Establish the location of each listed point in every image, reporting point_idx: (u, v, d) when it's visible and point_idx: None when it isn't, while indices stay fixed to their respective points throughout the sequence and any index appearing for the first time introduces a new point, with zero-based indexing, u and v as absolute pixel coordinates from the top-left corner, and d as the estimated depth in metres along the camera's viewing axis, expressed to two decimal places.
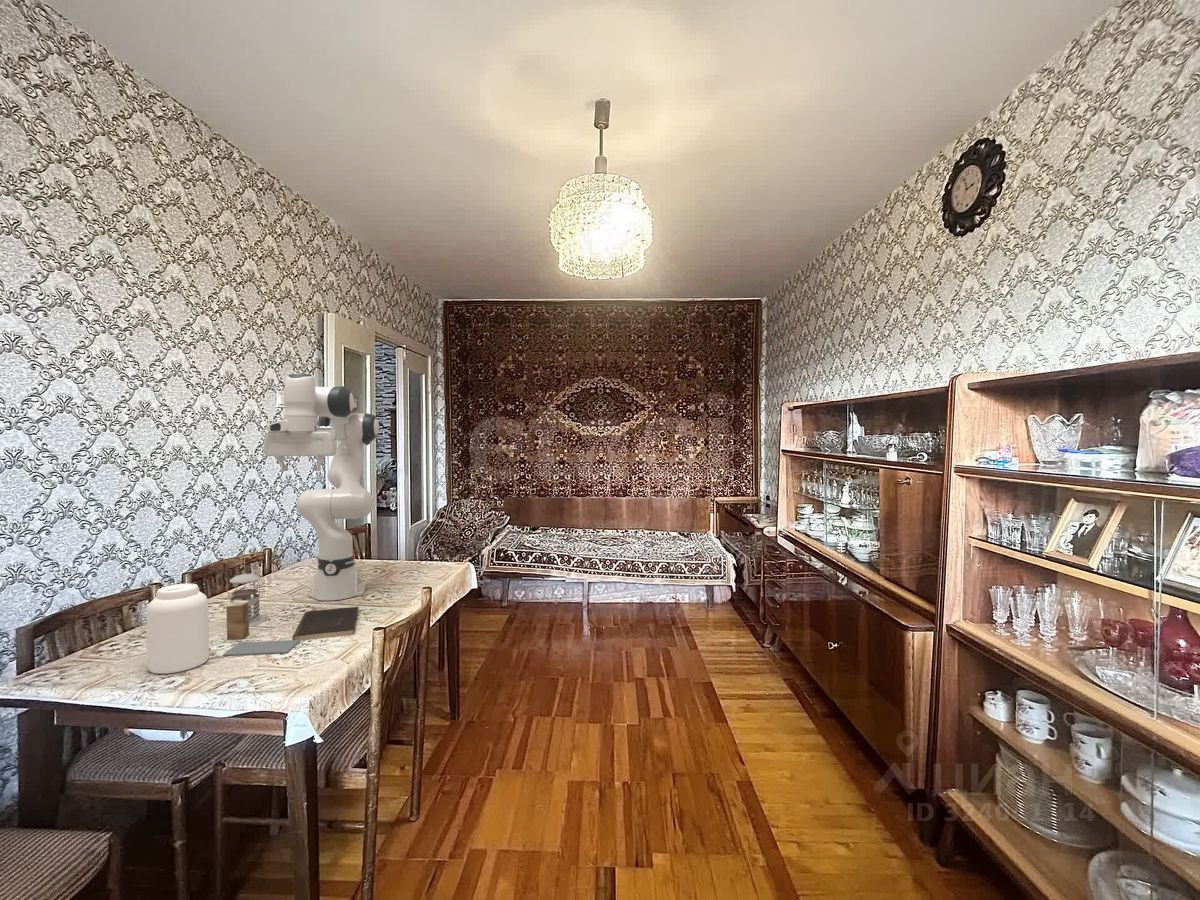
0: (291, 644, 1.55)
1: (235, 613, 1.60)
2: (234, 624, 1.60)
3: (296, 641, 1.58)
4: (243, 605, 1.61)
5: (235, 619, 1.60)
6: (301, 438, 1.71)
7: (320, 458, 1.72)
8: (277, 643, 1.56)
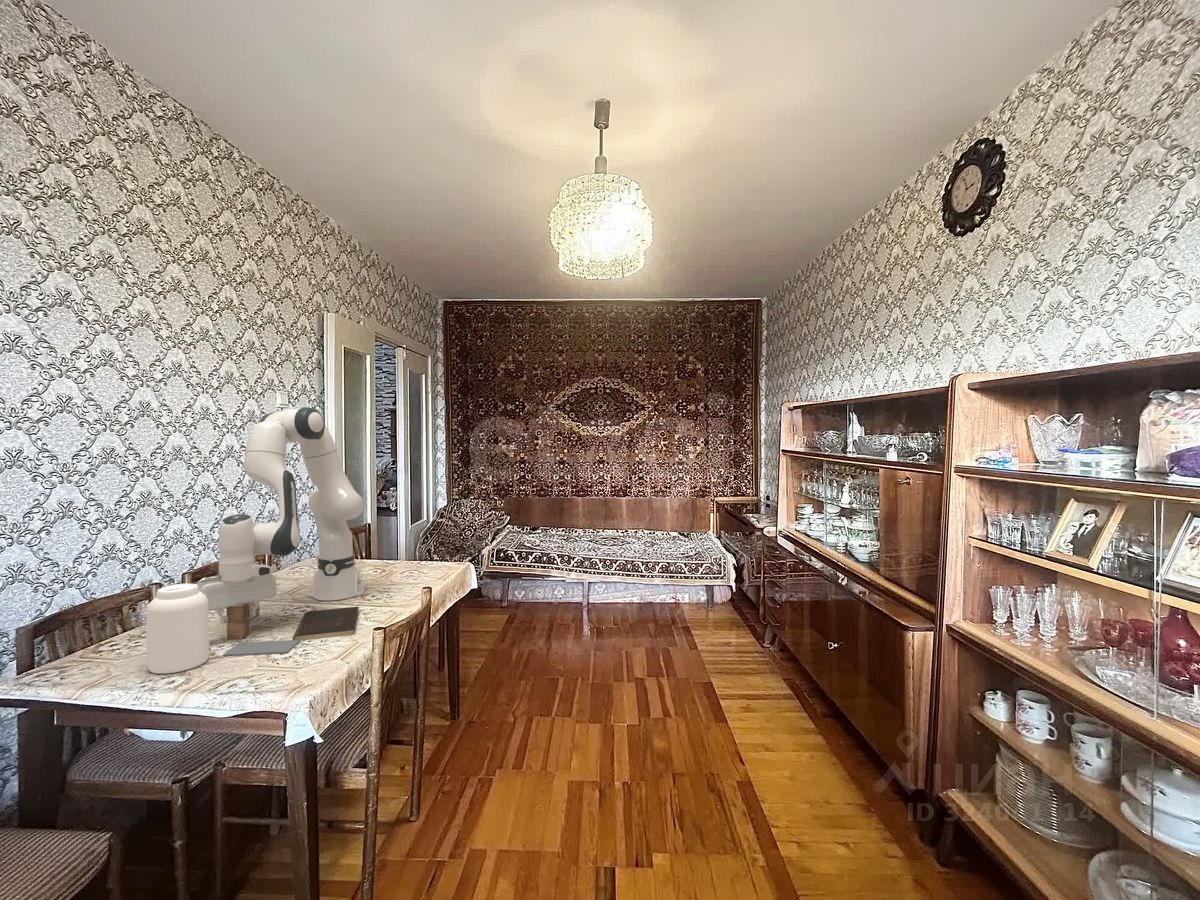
0: (291, 644, 1.55)
1: (235, 613, 1.60)
2: (234, 624, 1.60)
3: (296, 641, 1.58)
4: (243, 605, 1.61)
5: (235, 619, 1.60)
6: None
7: None
8: (277, 643, 1.56)
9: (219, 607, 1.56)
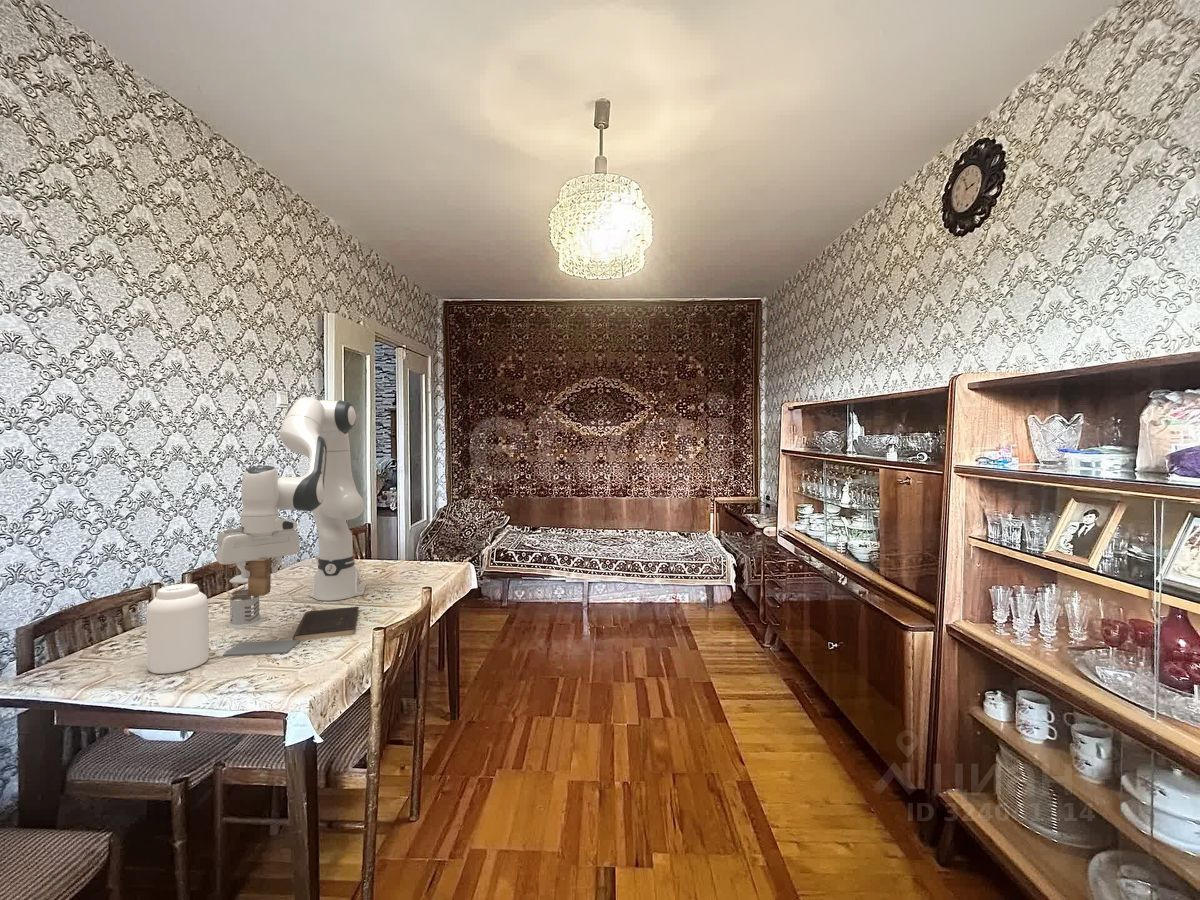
0: (291, 644, 1.55)
1: (257, 568, 1.52)
2: (256, 579, 1.52)
3: (296, 641, 1.58)
4: (265, 560, 1.53)
5: (257, 574, 1.52)
6: None
7: None
8: (277, 643, 1.56)
9: (241, 560, 1.49)
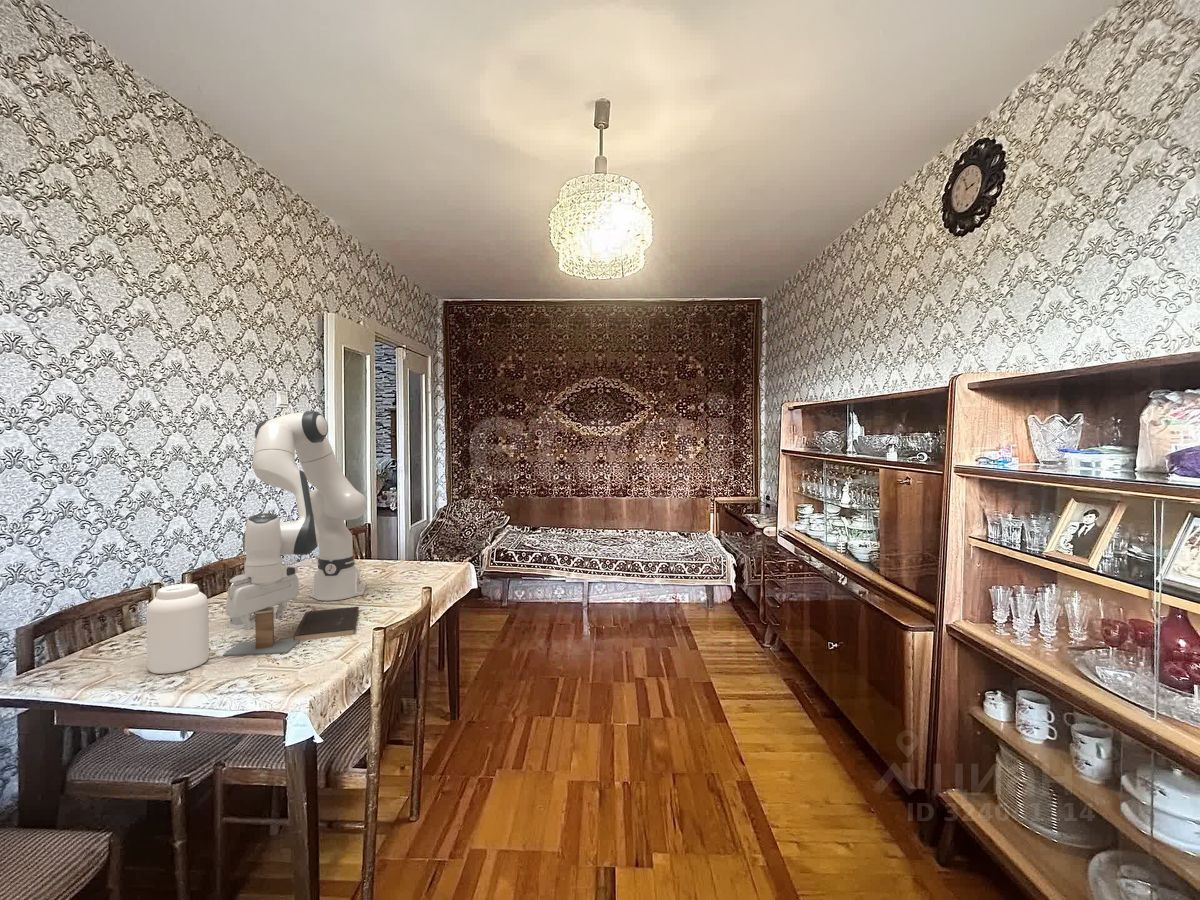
0: (291, 644, 1.55)
1: (265, 620, 1.53)
2: (264, 631, 1.53)
3: (296, 641, 1.58)
4: (272, 611, 1.54)
5: (265, 626, 1.53)
6: None
7: None
8: (277, 643, 1.56)
9: (252, 611, 1.49)
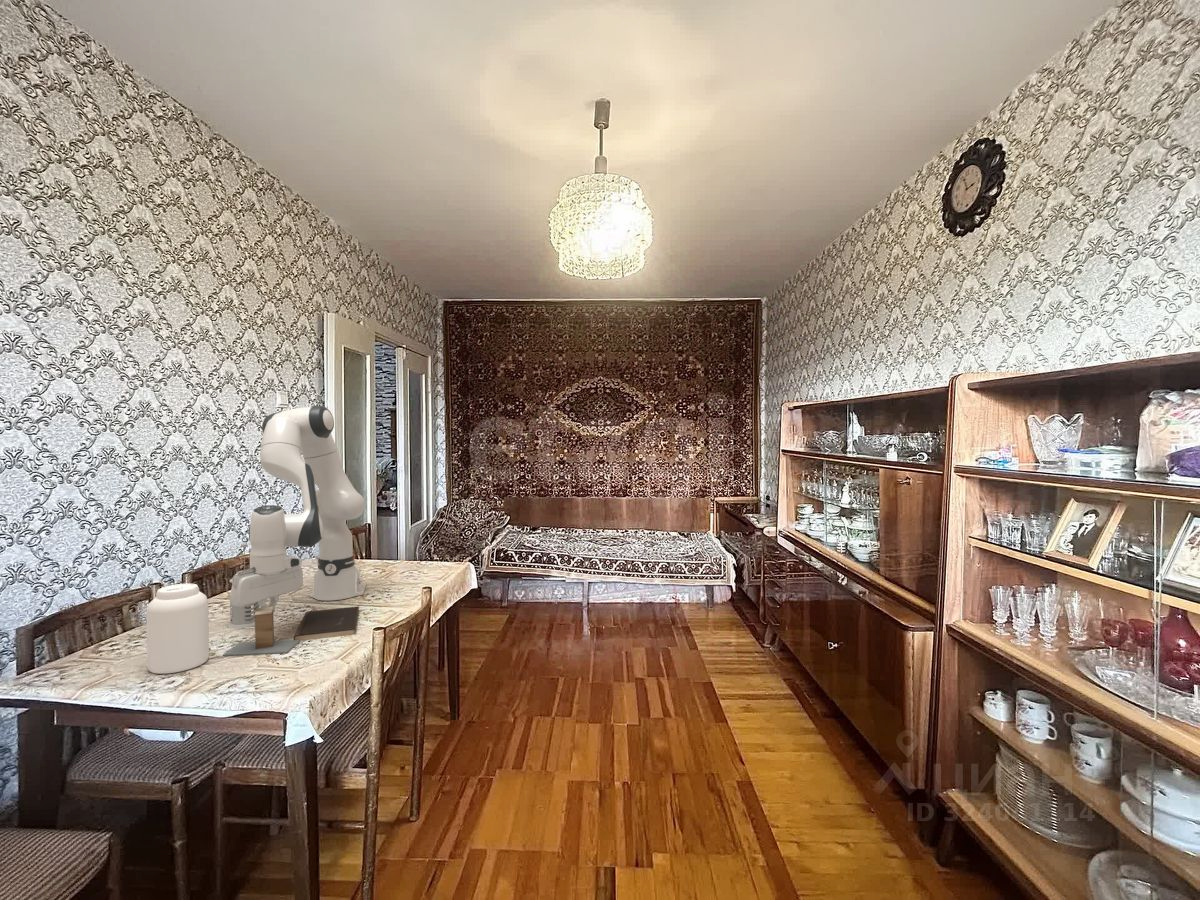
0: (291, 644, 1.55)
1: (264, 621, 1.52)
2: (263, 632, 1.52)
3: (296, 641, 1.58)
4: (272, 612, 1.53)
5: (264, 627, 1.52)
6: None
7: None
8: (277, 643, 1.56)
9: (255, 600, 1.52)
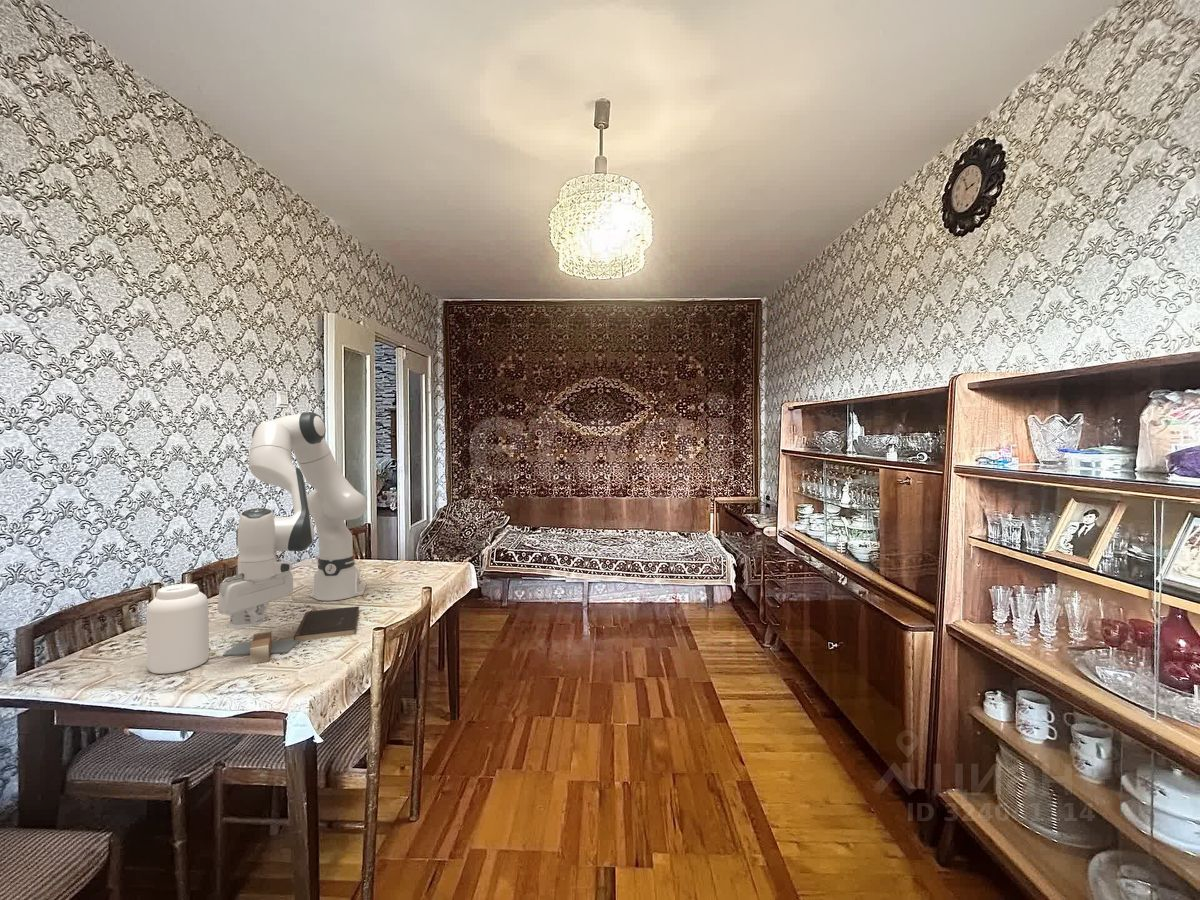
0: (291, 644, 1.55)
1: None
2: None
3: (296, 641, 1.58)
4: (268, 656, 1.45)
5: None
6: None
7: None
8: (277, 643, 1.56)
9: (244, 608, 1.45)
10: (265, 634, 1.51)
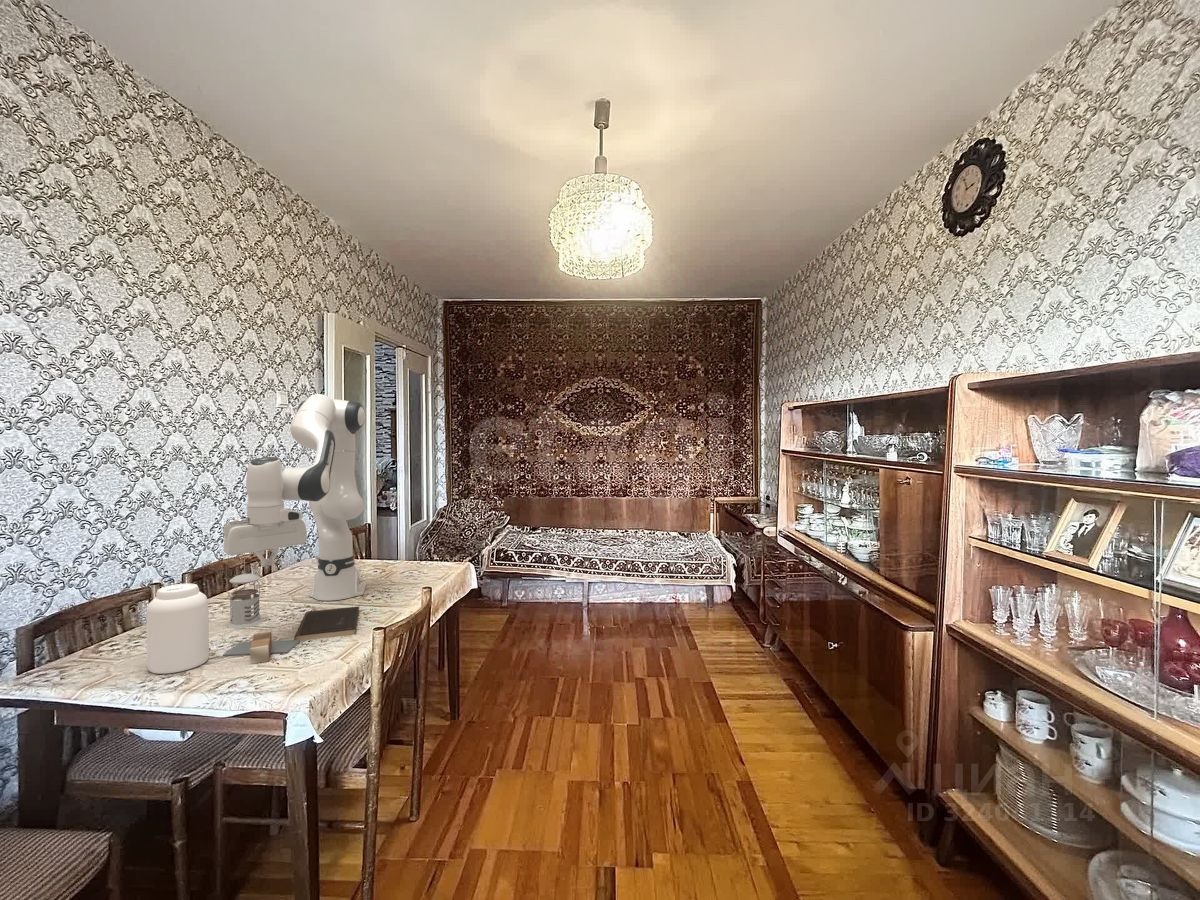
0: (291, 644, 1.55)
1: None
2: None
3: (296, 641, 1.58)
4: (268, 656, 1.45)
5: None
6: None
7: None
8: (277, 643, 1.56)
9: (248, 551, 1.50)
10: (265, 634, 1.51)
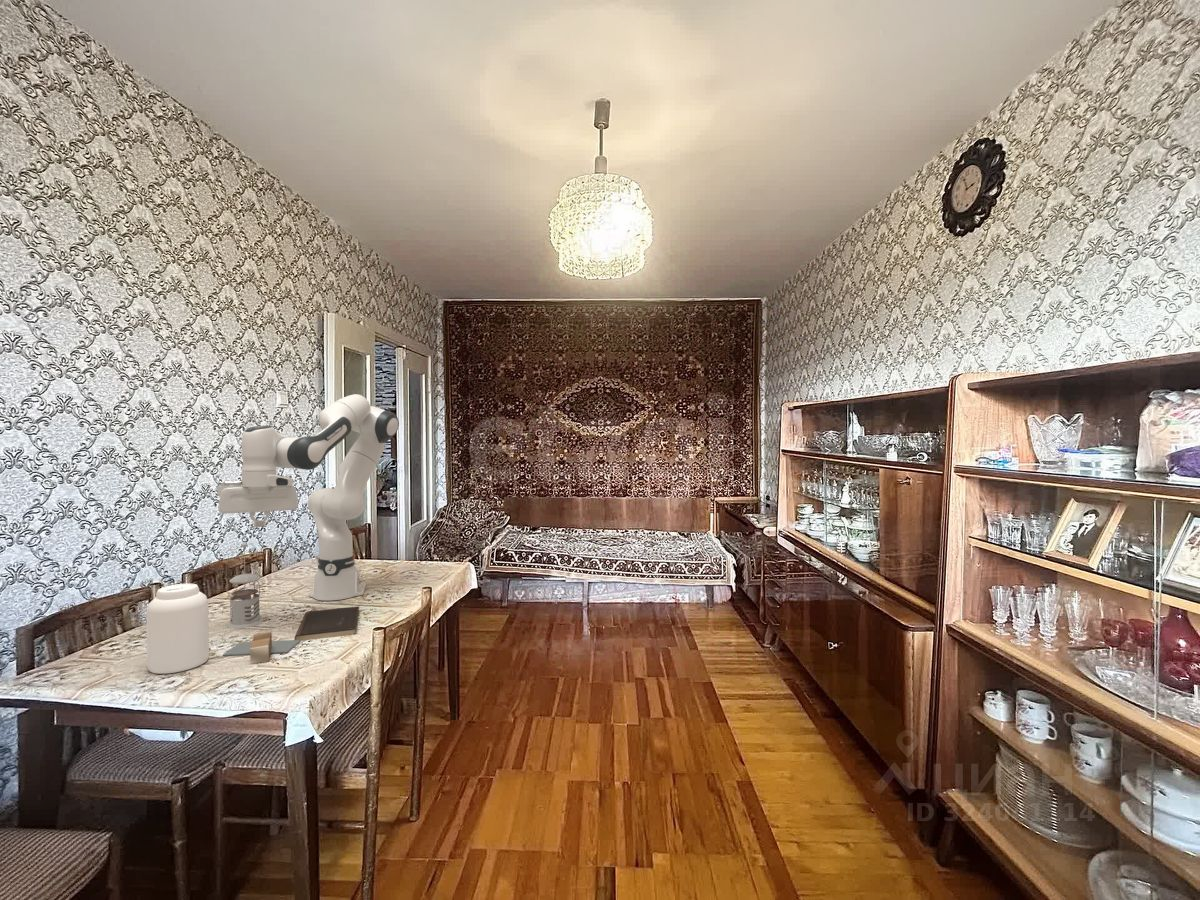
0: (291, 644, 1.55)
1: None
2: None
3: (296, 641, 1.58)
4: (268, 656, 1.45)
5: None
6: None
7: None
8: (277, 643, 1.56)
9: (238, 511, 1.62)
10: (265, 634, 1.51)
